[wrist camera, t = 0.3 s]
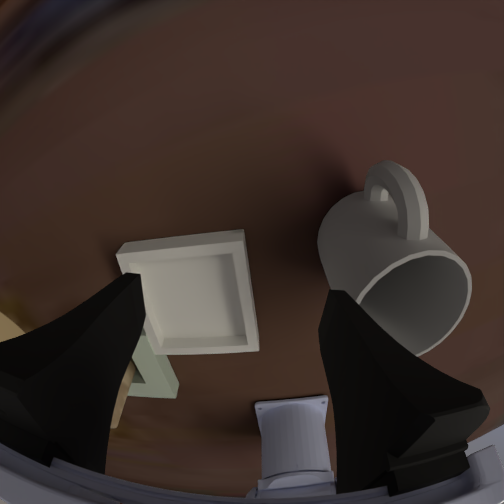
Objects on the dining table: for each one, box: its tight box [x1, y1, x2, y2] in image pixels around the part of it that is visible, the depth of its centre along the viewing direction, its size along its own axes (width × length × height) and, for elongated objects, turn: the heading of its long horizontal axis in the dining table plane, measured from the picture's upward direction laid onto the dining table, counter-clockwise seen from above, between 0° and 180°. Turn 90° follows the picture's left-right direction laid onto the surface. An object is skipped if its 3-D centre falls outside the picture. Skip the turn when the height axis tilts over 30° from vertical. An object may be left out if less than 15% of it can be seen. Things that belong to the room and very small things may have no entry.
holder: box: [127, 327, 179, 398], centre depth 27 cm, size 9×9×2 cm
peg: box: [110, 358, 137, 428], centre depth 24 cm, size 3×3×8 cm
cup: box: [317, 160, 472, 357], centre depth 17 cm, size 7×10×9 cm
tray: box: [116, 229, 259, 355], centre depth 23 cm, size 10×9×2 cm
